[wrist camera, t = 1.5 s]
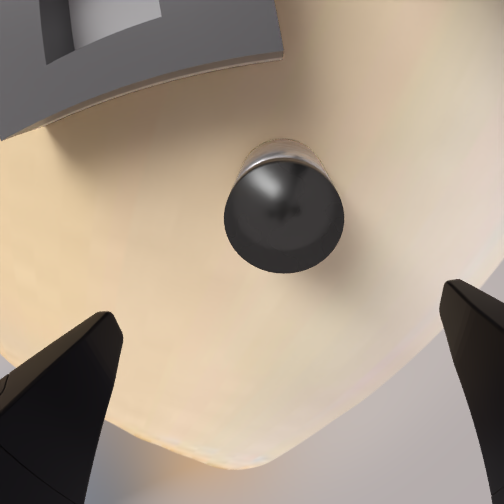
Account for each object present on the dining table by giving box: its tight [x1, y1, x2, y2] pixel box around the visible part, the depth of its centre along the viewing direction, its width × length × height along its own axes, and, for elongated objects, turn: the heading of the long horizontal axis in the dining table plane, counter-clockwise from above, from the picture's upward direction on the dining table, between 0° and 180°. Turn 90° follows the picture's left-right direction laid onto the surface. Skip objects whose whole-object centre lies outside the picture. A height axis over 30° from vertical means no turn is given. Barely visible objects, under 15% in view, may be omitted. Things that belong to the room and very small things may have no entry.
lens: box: [224, 139, 344, 273], centre depth 16 cm, size 5×5×6 cm
